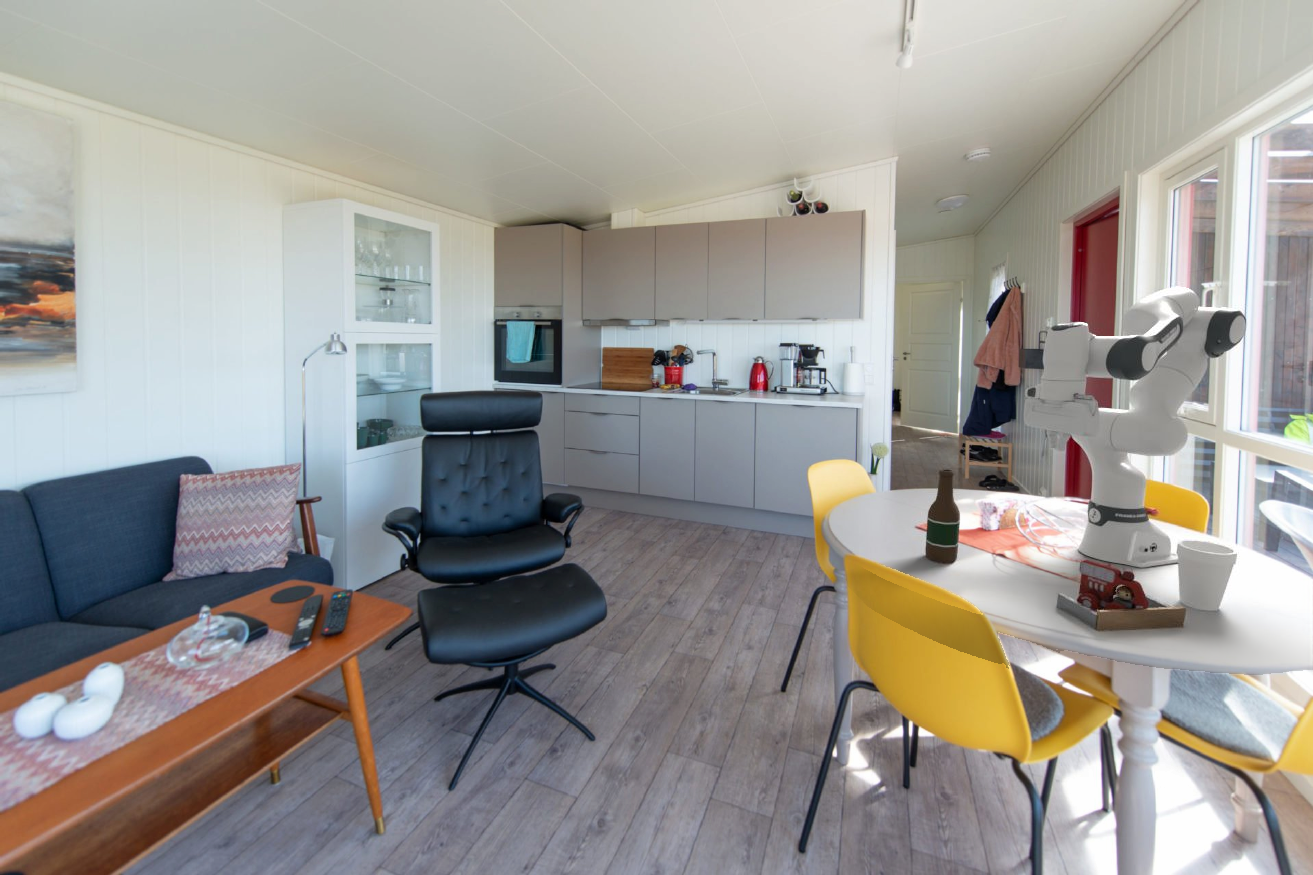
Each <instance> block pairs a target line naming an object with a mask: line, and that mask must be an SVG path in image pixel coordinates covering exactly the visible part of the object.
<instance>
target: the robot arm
mask: <svg viewBox="0 0 1313 875" xmlns="http://www.w3.org/2000/svg"><path fill="white" fill-rule="evenodd" d="M1200 302H1201V301H1200V298H1199V296H1198V294H1197V293H1196V292H1194V291H1193V290H1191V289H1189V288H1186V287H1183V286H1182V287H1181V286H1175V287H1170V288H1165V289H1163V290H1162V289H1161V290H1158V291H1157V292H1154V293H1153V294H1150V295H1147V296H1146V297H1145V298H1142V299H1141V300H1139V301H1137V302H1136V303H1135V304H1133V305H1131V306H1130V307H1129V308H1128V309H1127V310H1126V311H1125V313H1124V315H1123V317H1122V323H1121V324H1122V329H1123V332H1124V334H1125V335H1122V336H1121V335H1118V336H1117V335H1115V336H1109V335H1108V336H1097V335H1096V334H1093V333H1092V332H1090V330H1089V325H1088V322H1087V323H1086V322H1083V321H1082V322H1081V321H1071V322H1063V323H1057V324H1055V325H1053V326H1051V327H1050V328H1049V330H1048V331H1047V334H1046V337H1045V341H1044V347H1043V354H1042V364H1043V372H1042V375H1041V378H1040V383H1038V384H1036V385H1033V386H1030V387H1027V388H1026V389H1025V391H1024V396H1025V397H1026V399H1025V401H1024V408H1023V423H1024V425H1025V426H1027V427H1032V428H1037V429H1043V430H1046V436H1047V438H1048V442H1049V445H1048V446H1049V447H1048V448H1049V449H1050V450H1055V451H1059V452H1061V451H1062V452H1063V451H1065V450H1066V444H1067V443H1068V441H1070V440H1069V439H1070V438H1072V439H1073V440H1074V442H1076V443H1077V444H1078V445H1079V446H1080V447H1081V449H1082V450H1083V451H1084V453H1085V454H1086V457H1087V458H1088V461H1089V464H1090V467H1091V475H1092V476H1091V477H1092V478H1091V480H1092V481H1091V494H1090V495H1091V496H1090V499H1089V501H1088V504H1087V518H1088V519H1087V522H1086V527H1085V530H1084V533H1083V535H1082V536H1083V537H1082V539H1081V542H1080V544H1079V545H1078V549H1077V550H1078V552H1080V553H1081V554H1083V555H1085V556H1087V557H1091V558H1093V559H1097V560H1100V561H1105V562H1109V563H1114V564H1123V565H1127V566H1130V567H1135V568H1147V567H1148V568H1149V567H1154V566H1155V567H1156V566H1162V565H1169V564H1178V554H1177V553H1175V552H1173V551H1172V542H1171V538H1170V537H1169V535H1168V534H1167V533H1166V532H1164V531H1163V530H1162V529H1161V528H1159V527H1158V526H1156V525H1155V524H1154V523H1153V522H1151V521H1150V517H1149V516H1151V517H1158V515H1159V514H1160V511H1159V509H1158V508H1153V507H1146V506H1145V500H1146V499H1145V498H1146V490H1147V489H1146V488H1147V478H1146V476H1145V474H1144V473H1143V471H1141V470H1140V469H1138V468H1137V467H1136V466H1134V465H1133V463H1132V462H1131V461H1130V460H1129V457H1128V455H1127V454H1132V455H1139V456H1146V457H1167V456H1168V457H1170V456H1174V455H1176V454H1177V453H1179V452H1180V451H1181V450H1182V449H1183V448H1184V447H1185V445H1186V443H1187V441H1188V437H1189V435H1188V433H1189V432H1188V428H1187V426H1186V424H1185V422H1184V421H1183V420H1182V419H1180V417H1178V415H1177V414H1178V411H1179V410H1180V408H1181V407H1182V406H1183V404H1184V402H1186V400H1187V399H1188V398H1189V397H1190V396H1191V394H1193V392H1194V391H1195V389H1196V388H1197V387H1198V386H1199V384H1200V382H1201V381H1202V379H1203V377H1204V375H1205V373H1206V371H1207V369H1208V366H1209V365H1208V358H1210V359H1216V358H1220V357H1221V356H1222V355H1224V353H1225V352H1228V351H1230V350H1232V349H1233V348H1235V347H1236V346H1237V345H1238V344H1239V343H1241V341H1242V339H1243V338H1244V336H1245V335H1246V334H1245V333H1246V329H1247V318H1246V316H1245V315H1244V313H1243V312H1242V311H1240V310H1238V309H1235V308H1229V307H1220V308H1218V307H1205V306H1200V305H1201V303H1200ZM1087 378H1099V379H1101V378H1102V379H1117V380H1126V381H1127V380H1128V381H1136V382H1135V383H1134V385H1133V386H1132V387H1130V390H1129V392H1128V401H1129V403H1130V405H1131V406H1132V407H1133V409H1120V408H1119V409H1117V408H1107V407H1099V404H1098V400H1096V398H1095V397H1094V396H1093V395H1090V394H1086V387H1087Z"/></svg>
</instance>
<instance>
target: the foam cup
mask: <svg viewBox="0 0 1313 875" xmlns="http://www.w3.org/2000/svg"><path fill="white" fill-rule="evenodd" d="M1176 554H1177V555H1178V562H1177V568H1178V569H1177V571H1178V572H1177V573H1178V590H1179V591H1178V592H1179V602H1180V603H1181V604H1183V605H1185V606H1187V607H1189V608H1192V609H1196V610H1202V611H1207V612H1208V611H1209V612H1215V611H1218V610H1219V608H1220V607H1221V603H1222V601H1223V598H1224V595H1225V592H1226V589H1227V586H1228V583H1229V580H1230V577H1231V575H1232V572H1233V568H1234V566H1236V563H1237V559H1238V550H1236V549H1235V548H1234V547H1232V546H1231V547H1230V546H1227V545H1225V544H1221V543H1216V542H1213V541H1207V540H1197V539H1183V540H1178V542H1177V545H1176Z"/></svg>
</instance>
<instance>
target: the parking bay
mask: <svg viewBox="0 0 1313 875" xmlns="http://www.w3.org/2000/svg"><path fill="white" fill-rule="evenodd" d="M1145 596H1146V598H1147V601H1148V608H1136V609H1113V610H1103V609H1099V610H1097V612H1096V611H1094V610H1092V609H1090V608H1088V607H1086V606H1085V605H1083V604H1081V603H1079V602H1077V599H1074V598H1072V597H1070V596H1068V595H1066V594H1065V593H1063V592H1059V593H1057V599H1056V608H1058V609H1060V610H1061V611H1063V612H1065V613H1067V614H1068V615H1070V616H1072V617H1074V618H1075V619H1077V620H1079V621H1080V622H1082V623H1083V624H1085V625H1087V626H1089V627H1090V628H1093V629H1094V630H1096V631H1098V632H1104V631H1105V630H1106V631H1107V630H1109V631H1126V630H1127V631H1128V630H1129V631H1130V629H1131V630H1150V629H1151V630H1152V629H1169V628H1173V629H1174V628H1184V626H1185V618H1186V611H1187V608H1186V607H1184V606H1182V605H1181V606H1171V605H1169V604H1167V603H1165V602H1163V601H1161V600H1159V599H1157V598H1155V597H1152V596H1151V595H1148V594H1146V593H1145ZM1133 599H1134V598H1133ZM1106 631H1105V632H1106Z"/></svg>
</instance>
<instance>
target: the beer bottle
mask: <svg viewBox="0 0 1313 875" xmlns="http://www.w3.org/2000/svg"><path fill="white" fill-rule="evenodd" d="M938 475H939V478H938V485H937V494H936V497H935V500H934V501H933V503H932V504H930V507H929V509H928V511H927V518H926V534H925V536H926V537H925V538H926V539H925V550H924V551H925V558H926V559H928V560H929V561H931V562H935V563H939V564H953V563H955V562H956V560H957V559H958V552H959V538H960V537H959V536H960V523H961V513H960V509H959V507H958V505H957V504H956V502H955V500H954V476H955V471H954V470H952V469H947V468H944V469H943V468H942V469H940V470H939V472H938Z"/></svg>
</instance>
